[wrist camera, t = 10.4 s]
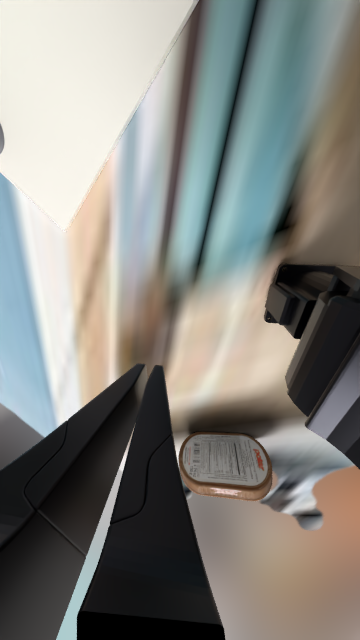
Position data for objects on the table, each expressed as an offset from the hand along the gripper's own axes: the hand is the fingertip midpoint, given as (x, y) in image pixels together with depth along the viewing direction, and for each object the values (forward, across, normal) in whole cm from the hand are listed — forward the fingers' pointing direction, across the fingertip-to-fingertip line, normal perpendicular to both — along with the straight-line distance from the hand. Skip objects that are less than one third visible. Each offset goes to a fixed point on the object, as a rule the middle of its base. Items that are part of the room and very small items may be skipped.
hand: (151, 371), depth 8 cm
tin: (+13, -8, +28) cm, 32 cm away
